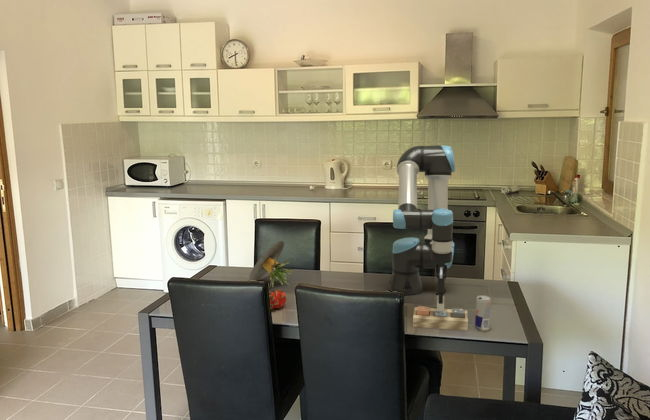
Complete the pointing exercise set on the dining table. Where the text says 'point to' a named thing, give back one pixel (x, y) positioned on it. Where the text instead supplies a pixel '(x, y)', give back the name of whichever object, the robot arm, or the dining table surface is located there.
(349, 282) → the dining table surface
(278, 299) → the dragon fruit
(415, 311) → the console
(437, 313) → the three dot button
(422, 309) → the one dot button
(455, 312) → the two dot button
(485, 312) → the energy drink
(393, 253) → the robot arm
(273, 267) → the grey yellow green piece
